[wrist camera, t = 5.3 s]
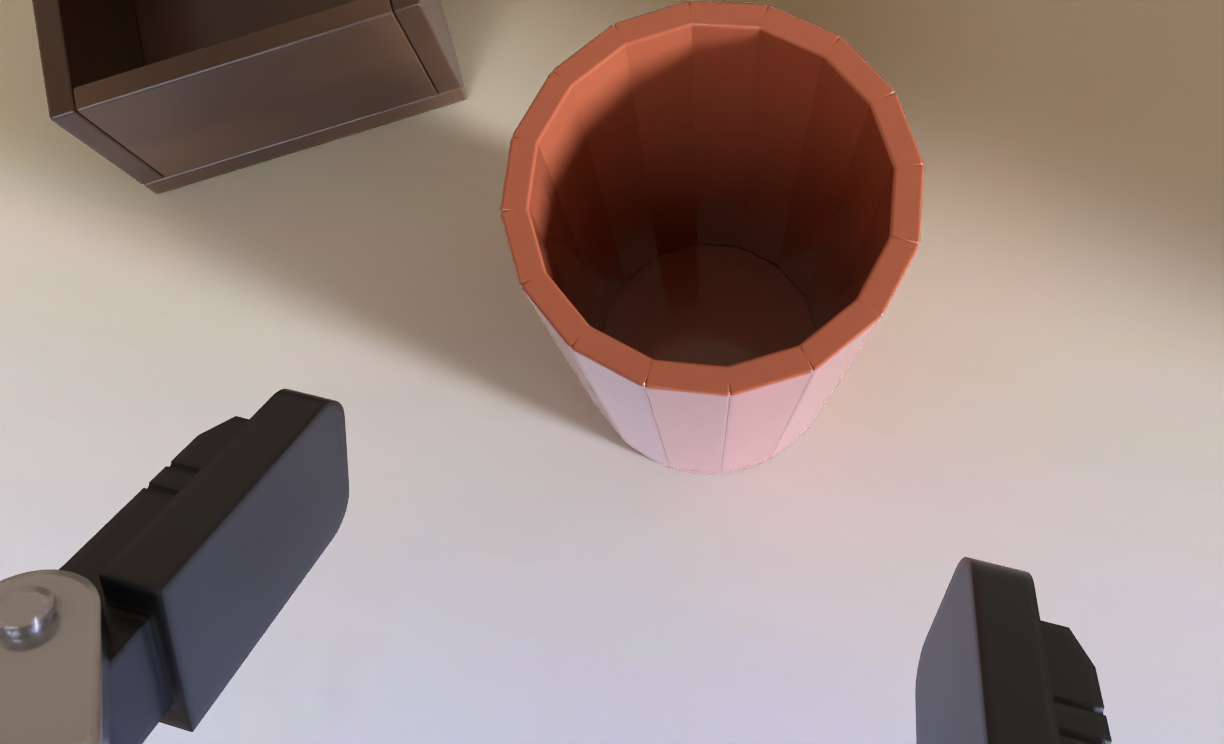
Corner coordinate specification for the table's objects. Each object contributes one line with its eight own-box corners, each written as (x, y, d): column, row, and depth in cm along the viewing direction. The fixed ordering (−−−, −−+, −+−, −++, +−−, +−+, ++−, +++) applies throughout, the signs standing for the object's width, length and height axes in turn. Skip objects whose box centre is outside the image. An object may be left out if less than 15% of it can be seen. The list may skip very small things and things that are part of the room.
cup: (787, 209, 23) (842, -49, 13) (865, 433, 21) (986, 321, 12) (560, 277, 23) (460, 68, 14) (624, 504, 22) (562, 445, 12)
